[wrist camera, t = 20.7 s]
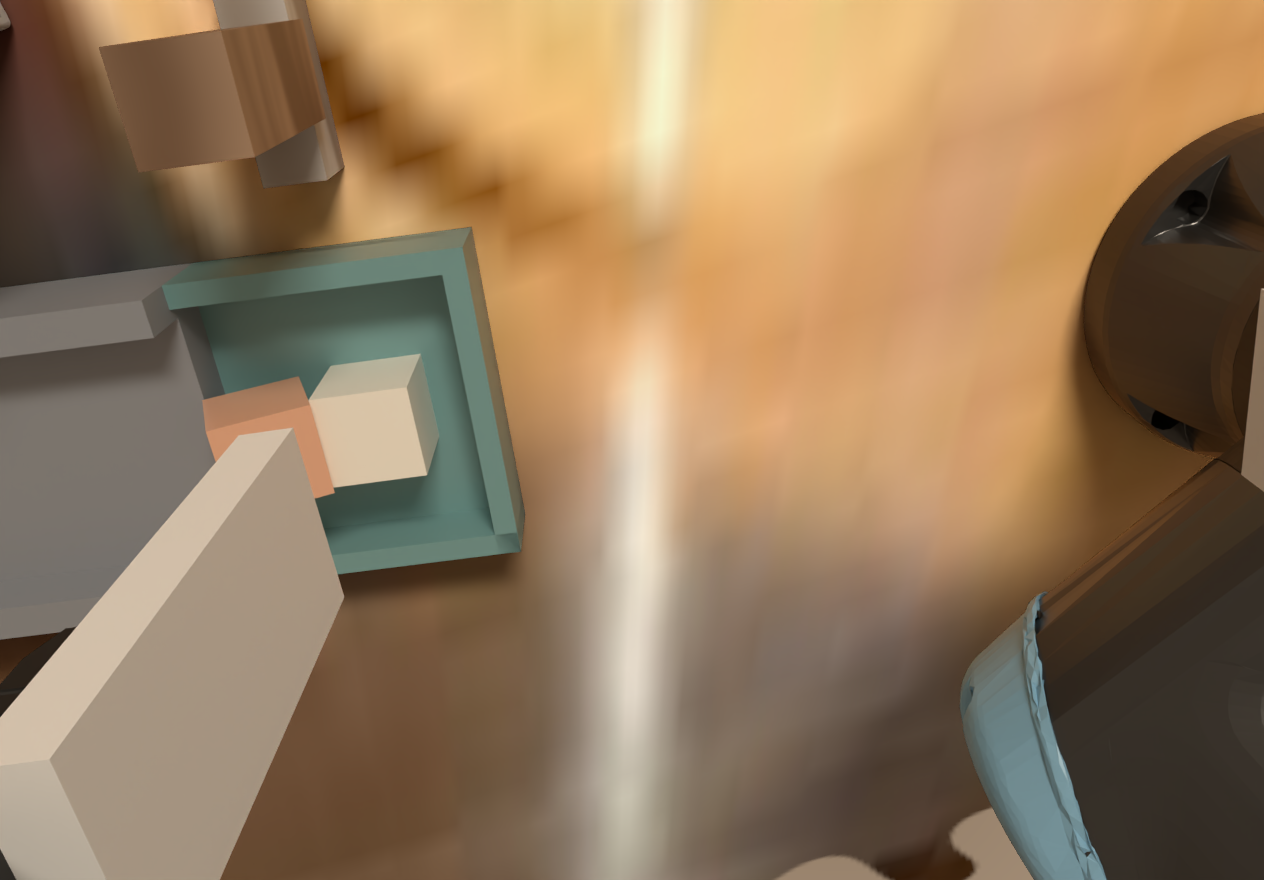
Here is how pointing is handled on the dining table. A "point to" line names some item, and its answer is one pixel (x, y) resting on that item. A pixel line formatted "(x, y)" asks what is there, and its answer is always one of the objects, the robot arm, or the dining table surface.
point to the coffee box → (3, 19)
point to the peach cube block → (269, 423)
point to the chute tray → (370, 330)
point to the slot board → (93, 436)
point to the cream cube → (375, 420)
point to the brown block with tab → (230, 95)
